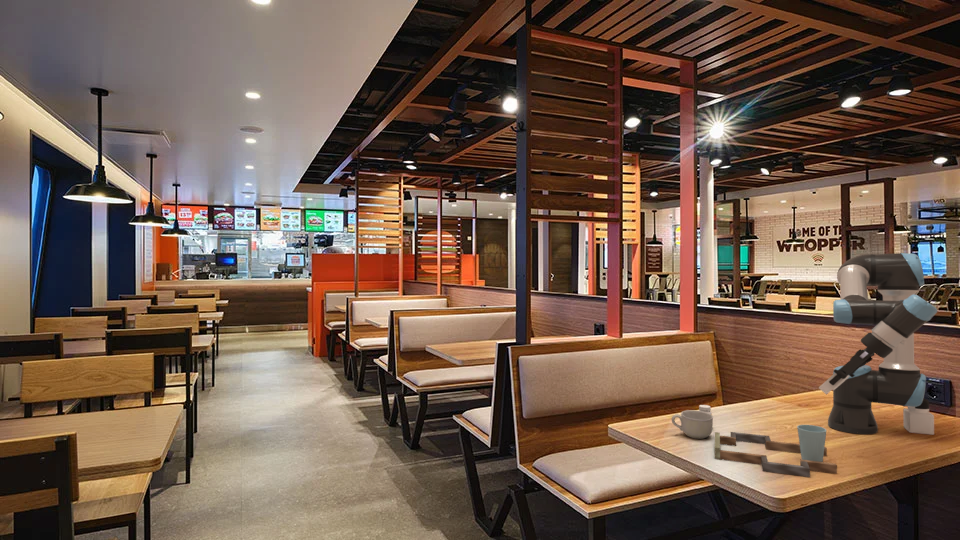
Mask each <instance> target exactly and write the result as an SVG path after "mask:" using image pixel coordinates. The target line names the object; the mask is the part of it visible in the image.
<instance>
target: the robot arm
mask: <svg viewBox="0 0 960 540" xmlns="http://www.w3.org/2000/svg"><path fill="white" fill-rule="evenodd" d="M836 279H837V282H838V284H839V285H840V288H839V289H840V298H839V299H834V301H833V313H832V315H833V316H832V317H833V321H834V322H836V324H837V323H838V324H839V323H840V324H846V325H849V324H853V325H854V324H855V325H875V326H874V327H872V328H871V332H867V333H866V335H864V336H863V337H862V338H861V339H860V342H861V343H862V344H863V345H864V346H865V348H864V349H862V348H861V349H859V350H857V351H856V352H855V354H854V355H853V356H851V358H850V360H848V361H847V362H846V363H845V364H844V365H839V366H836V367H835V368H834V369H833V372H832V373H833V374H832V375H831V376H830V377H828V379H826V380H825V381H824V382H823V383H822V384H821V385H820V386H818V389H819V390H820V391H821V392H823V393H824V394H825V395H829V393H830V392H831V391H832V396H833V397H832V398H833V402H832V403H833V405H832V408H831V409H830V410H831V411H830V413H829V415H828V417H827V418H828V419H827V426H828V427H830V428H831V429H833V430H836V431H839V432H842V433H849V434H855V435H873V434H877V433H879V432H878V431H879V430H878V429H879V427H878V426H879V425H878V422H877V421H876V418H875V417H876V416H875V415H874V412H873V410H872V408H873V407H872V403H875V404H882V405H883V404H885V405H893V406H903V407H908V406H913V407H917V406H919V405H921V403H922V401H923V398H924V399H925V393H926V387H927V386H926V381H927V377H926V375H925V374H923V372H922V373H921V368H920V367H919V366H917V365H916V364H915V333H916V331H918V330H919V329H921V327H923V325H925V324H926V323H927V322H929V321H931V320H932V318H933V317H934V316H935V315H937V313H938V309H937V308H936V306H934V305H932V303H930V302H929V301H926V299H924V298H923V297H921V296H920V295H917V293H919V291H920V289H919V287H923V286H924V285H925V276H924V270H923V266H922V262H921V259H920V257H919V256H918V254H916V253H909V252H907V253H904V252H900V253H899V252H898V253H897V252H896V253H895V252H894V253H864V254H860V255H857V256H854V257H851V258H850V259H847V260H846V261H844V263H843V264H841V266H840V267H839V268H838V270H837V273H836ZM868 286H873V287H874V286H876V288H877V292H878V293H879V294H880V295H882V300H879V299H878V300H877V299H876V300H874V299H873V300H872V299H869V294H868ZM875 355H877V356H878V357H880V358H883V362H881V363H880V364H879V365H878V370H875V369H872V367H871V366H870V365H867V364H868V363H870V362H871V361H872V360H873V357H875Z"/></svg>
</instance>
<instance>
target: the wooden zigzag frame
mask: <svg viewBox="0 0 960 540" xmlns="http://www.w3.org/2000/svg"><path fill="white" fill-rule="evenodd" d="M742 441H743V442H744V443H751V442H752V443H753V444H762V445H764V446H765V450H769V451H776V452H777V451H778V452H785V453H786V452H787V453H794V454H795V453H796V454H801V451H800V443H791V442H783V441H782V442H781V441H773V440H771V437H770V435H765V434H754V433H747V432H746V433H745V432H744V433H743V432H736V431H734V432H733V431H730V436H729V435H727V436H726V435H721V434H720V432H718V431H716V432H714V459H715V458H717V459H716V460H722V459H724V460H723V461H730V462H737V463H739V462H740V463H746V464H754V465H755V464H756V465H760V466H761V469H762V472H765V473H766V472H767V473H773V474H782V475H790V476H798V477H805V478H811V472H817V473H818V472H819V473H826V474H827V473H828V474H835V475H837V474H838V465H837V463H834V462H825V461H823V462H818V461H810V460H802V458H801V459H800V461H799V462H800V463H799V465H796V464H791V463H788V464H787V463H782V462H781V463H780V462H773V461H768V457H767V455H764V454H758V453H750V452H749V453H748V452H740V451H733V450H723V449H721V445H724V444H727V445H726V446H732V445H735V446H734V447H736V446H737V442H742ZM743 442H742V443H743ZM827 450H828V448H827V447H826V446H825V447H824V456H823V457H827V456H828V452H827Z"/></svg>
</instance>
